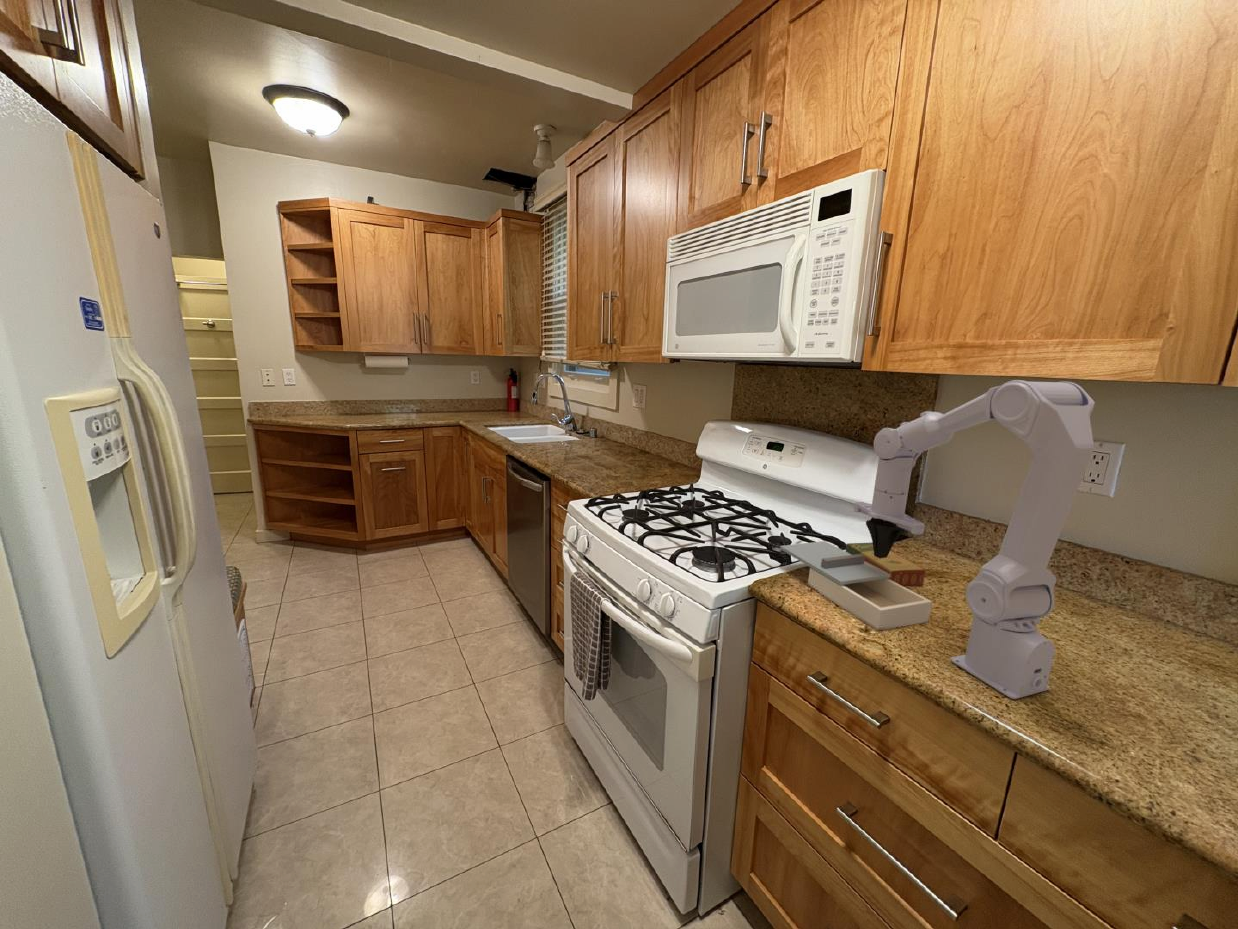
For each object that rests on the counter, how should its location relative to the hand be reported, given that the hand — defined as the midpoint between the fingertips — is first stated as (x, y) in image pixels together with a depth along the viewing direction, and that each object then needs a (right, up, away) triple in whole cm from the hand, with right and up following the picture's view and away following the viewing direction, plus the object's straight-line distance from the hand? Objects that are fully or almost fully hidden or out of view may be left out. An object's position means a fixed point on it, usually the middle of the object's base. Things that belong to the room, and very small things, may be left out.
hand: (880, 556), depth 96 cm
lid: (-7, -3, +7) cm, 10 cm away
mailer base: (-4, -9, -1) cm, 10 cm away
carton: (+8, -6, +14) cm, 17 cm away
